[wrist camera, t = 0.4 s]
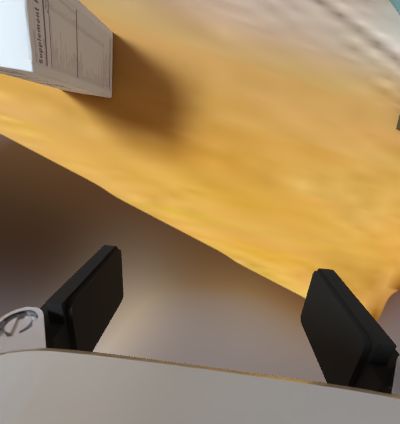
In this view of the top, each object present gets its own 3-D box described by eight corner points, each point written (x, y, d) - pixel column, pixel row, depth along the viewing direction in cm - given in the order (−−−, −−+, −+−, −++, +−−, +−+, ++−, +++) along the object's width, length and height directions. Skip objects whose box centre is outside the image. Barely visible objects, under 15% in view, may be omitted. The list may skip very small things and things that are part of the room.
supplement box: (55, 21, 34) (-88, -78, 18) (114, 30, 34) (21, -62, 18) (59, 91, 37) (-61, 59, 21) (112, 100, 37) (32, 74, 21)
